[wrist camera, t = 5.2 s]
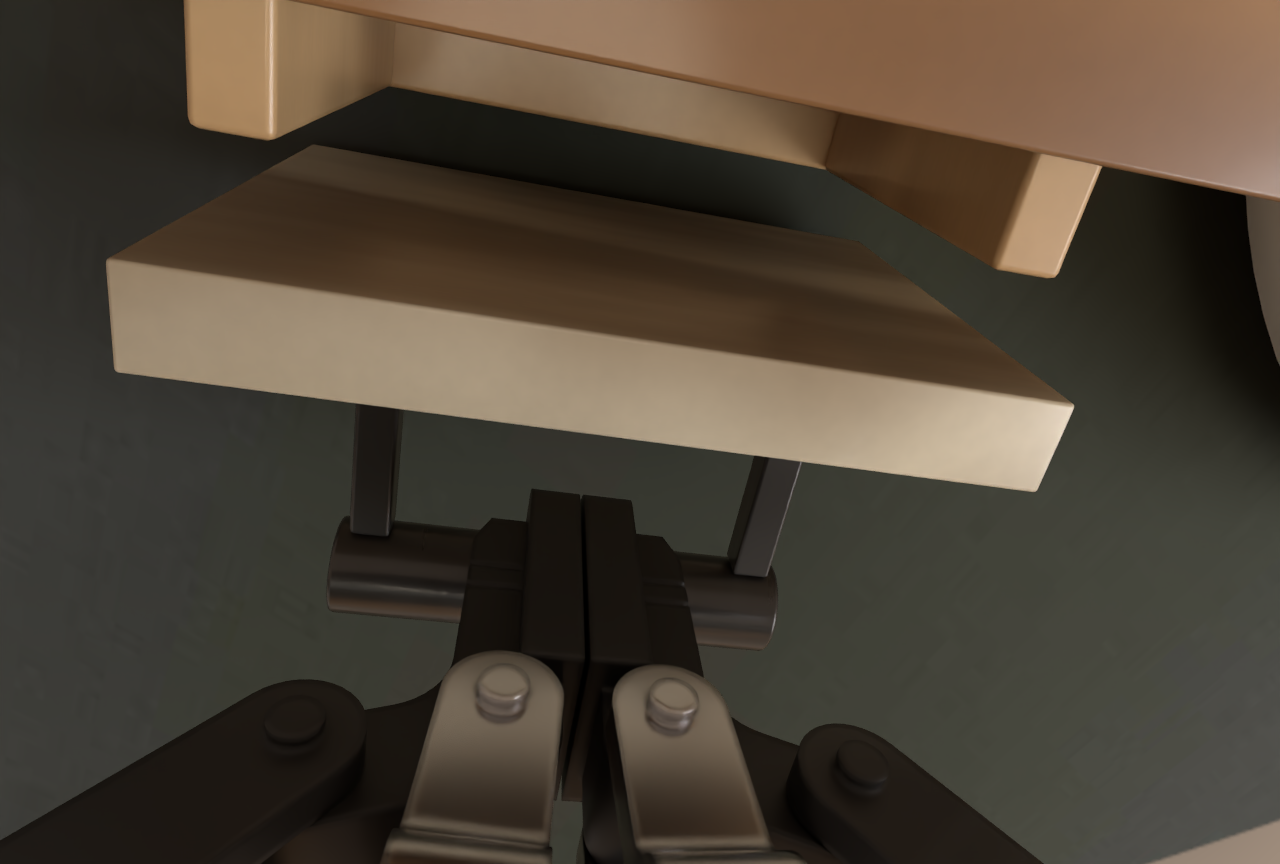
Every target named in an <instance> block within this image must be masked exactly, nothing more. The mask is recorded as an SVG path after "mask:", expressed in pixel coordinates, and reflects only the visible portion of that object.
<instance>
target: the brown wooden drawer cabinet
mask: <svg viewBox="0 0 1280 864" xmlns="http://www.w3.org/2000/svg"><path fill="white" fill-rule="evenodd" d="M289 1H294V2H299V3H304V4H309V5H314V6H318V7H323V8H328V9H333V10H338V11H343V12H348V13H353V14H358V15H363V16H368V17H372V18H377V19H382V20H387V21H392V22H397V23H402V24H407V25H412V26H417V27H422V28H426V29H431V30H436V31H441V32H446V33H451V34H456V35H461V36H466V37H471V38H476V39H480V40H485V41H490V42H495V43H500V44H505V45H510V46H515V47H520V48H525V49H530V50H535V51H539V52H544V53H549V54H554V55H559V56H564V57H569V58H574V59H579V60H584V61H589V62H593V63H598V64H603V65H608V66H613V67H618V68H623V69H628V70H633V71H638V72H643V73H647V74H652V75H657V76H662V77H667V78H672V79H677V80H682V81H687V82H692V83H697V84H701V85H706V86H711V87H716V88H721V89H726V90H731V91H736V92H741V93H746V94H751V95H756V96H760V97H765V98H770V99H775V100H780V101H785V102H790V103H795V104H800V105H805V106H810V107H814V108H819V109H824V110H829V111H834V112H839V113H844V114H849V115H854V116H859V117H864V118H868V119H873V120H878V121H883V122H888V123H893V124H898V125H903V126H908V127H913V128H918V129H922V130H927V131H932V132H937V133H942V134H947V135H952V136H957V137H962V138H967V139H972V140H977V141H981V142H986V143H991V144H996V145H1001V146H1006V147H1011V148H1016V149H1021V150H1026V151H1031V152H1035V153H1040V154H1045V155H1050V156H1055V157H1060V158H1065V159H1070V160H1075V161H1080V162H1085V163H1089V164H1094V165H1099V166H1104V167H1109V168H1114V169H1119V170H1124V171H1129V172H1134V173H1139V174H1143V175H1148V176H1153V177H1158V178H1163V179H1168V180H1173V181H1178V182H1183V183H1188V184H1193V185H1197V186H1202V187H1207V188H1212V189H1217V190H1222V191H1227V192H1232V193H1237V194H1242V195H1247V196H1252V197H1256V198H1261V199H1266V200H1271V201H1276V202H1280V0H289Z"/></svg>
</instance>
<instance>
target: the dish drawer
mask: <svg viewBox="0 0 1280 864" xmlns="http://www.w3.org/2000/svg"><path fill="white" fill-rule="evenodd" d="M184 23H185V52H186V80H187V108H188V118H189V121H190V124H192V125H194V126H196V127H197V128H199V129H205V130H210V131H216V132H222V133H227V134H233V135H239V136H244V137H250V138H256V139H261V140H267V141H268V140H272V139H276V138H278V137H280V136H282V135H284V134H287V133H289V132H291V131H293V130H295V129H297V128H300V127H302V126H304V125H306V124H308V123H310V122H313V121H315V120H317V119H319V118H321V117H323V116H326V115H328V114H330V113H332V112H334V111H337V110H339V109H341V108H343V107H345V106H347V105H350V104H352V103H354V102H356V101H358V100H360V99H363V98H365V97H367V96H369V95H371V94H373V93H376V92H378V91H380V90H382V89H384V88H386V87H389V86H390V87H395V88H400V89H406V90H411V91H416V92H421V93H426V94H432V95H437V96H442V97H447V98H453V99H458V100H463V101H468V102H474V103H479V104H484V105H489V106H494V107H500V108H505V109H510V110H515V111H521V112H526V113H531V114H536V115H542V116H547V117H552V118H557V119H562V120H568V121H573V122H578V123H583V124H589V125H594V126H599V127H604V128H609V129H615V130H620V131H625V132H630V133H636V134H641V135H646V136H651V137H657V138H662V139H667V140H672V141H677V142H683V143H688V144H693V145H698V146H704V147H709V148H714V149H719V150H724V151H730V152H735V153H740V154H745V155H751V156H756V157H761V158H766V159H772V160H777V161H782V162H787V163H792V164H798V165H803V166H808V167H813V168H819V169H824V170H827V171H829V172H830V173H832V174H834V175H836V176H837V177H839V178H841V179H842V180H844V181H846V182H848V183H849V184H851V185H853V186H854V187H856V188H858V189H859V190H861V191H863V192H865V193H866V194H868V195H870V196H871V197H873V198H875V199H877V200H878V201H880V202H882V203H883V204H885V205H887V206H888V207H890V208H892V209H894V210H895V211H897V212H899V213H900V214H902V215H904V216H906V217H907V218H909V219H911V220H912V221H914V222H916V223H918V224H919V225H921V226H923V227H924V228H926V229H928V230H929V231H931V232H933V233H935V234H936V235H938V236H940V237H941V238H943V239H945V240H947V241H948V242H950V243H952V244H953V245H955V246H957V247H958V248H960V249H962V250H964V251H965V252H967V253H969V254H970V255H972V256H974V257H976V258H977V259H979V260H981V261H982V262H984V263H986V264H988V265H989V266H991V267H993V268H994V269H996V270H1001V271H1007V272H1013V273H1018V274H1024V275H1030V276H1035V277H1041V278H1053V277H1055V276H1056V275H1057V274H1058V273H1059V270H1060V268H1061V265H1062V263H1063V260H1064V258H1065V256H1066V253H1067V251H1068V248H1069V246H1070V243H1071V241H1072V239H1073V236H1074V234H1075V231H1076V229H1077V226H1078V224H1079V222H1080V219H1081V217H1082V214H1083V212H1084V209H1085V207H1086V204H1087V202H1088V200H1089V197H1090V195H1091V192H1092V190H1093V187H1094V185H1095V183H1096V180H1097V178H1098V175H1099V173H1100V170H1101V168H1102V166H1099V165H1094V164H1089V163H1085V162H1080V161H1075V160H1070V159H1065V158H1060V157H1055V156H1050V155H1045V154H1040V153H1035V152H1031V151H1026V150H1021V149H1016V148H1011V147H1006V146H1001V145H996V144H991V143H986V142H981V141H977V140H972V139H967V138H962V137H957V136H952V135H947V134H942V133H937V132H932V131H927V130H922V129H918V128H913V127H908V126H903V125H898V124H893V123H888V122H883V121H878V120H873V119H868V118H864V117H859V116H854V115H849V114H844V113H839V112H834V111H829V110H824V109H819V108H814V107H810V106H805V105H800V104H795V103H790V102H785V101H780V100H775V99H770V98H765V97H760V96H756V95H751V94H746V93H741V92H736V91H731V90H726V89H721V88H716V87H711V86H706V85H701V84H697V83H692V82H687V81H682V80H677V79H672V78H667V77H662V76H657V75H652V74H647V73H643V72H638V71H633V70H628V69H623V68H618V67H613V66H608V65H603V64H598V63H593V62H589V61H584V60H579V59H574V58H569V57H564V56H559V55H554V54H549V53H544V52H539V51H535V50H530V49H525V48H520V47H515V46H510V45H505V44H500V43H495V42H490V41H485V40H480V39H476V38H471V37H466V36H461V35H456V34H451V33H446V32H441V31H436V30H431V29H426V28H422V27H417V26H412V25H407V24H402V23H397V22H392V21H387V20H382V19H377V18H372V17H368V16H363V15H358V14H353V13H348V12H343V11H338V10H333V9H328V8H323V7H318V6H314V5H309V4H304V3H299V2H294V1H289V0H184ZM106 271H107V283H108V296H109V308H110V320H111V333H112V345H113V358H114V369H115V371H117V372H120V373H128V374H136V375H143V376H151V377H159V378H166V379H174V380H181V381H189V382H197V383H204V384H212V385H220V386H227V387H235V388H243V389H250V390H258V391H266V392H273V393H281V394H289V395H296V396H304V397H312V398H319V399H327V400H334V401H342V402H350V403H356V412H355V431H354V450H353V470H352V489H351V508H350V516H345V517H344V518H343V519H342V521H341V523H340V525H339V527H338V529H337V532H336V536H335V539H334V543H333V547H332V552H331V557H330V563H329V570H328V578H327V605H328V609H329V610H330V611H332V612H338V613H349V614H360V615H371V616H382V617H393V618H404V619H415V620H426V621H437V622H448V623H460V617H461V611H462V605H463V599H464V593H465V587H466V582H467V575H468V569H469V564H470V557H471V551H472V545H473V539H474V536H475V535H476V534H477V533H478V532H479V531H480V530H476V529H467V528H458V527H449V526H439V525H430V524H421V523H412V522H403V521H394V519H395V515H396V503H397V490H398V477H399V465H400V452H401V439H402V426H403V414H404V410H411V411H419V412H426V413H434V414H442V415H449V416H457V417H464V418H472V419H480V420H487V421H495V422H503V423H510V424H518V425H526V426H533V427H541V428H549V429H556V430H564V431H572V432H579V433H587V434H595V435H602V436H610V437H617V438H625V439H633V440H640V441H648V442H656V443H663V444H671V445H679V446H686V447H694V448H702V449H709V450H717V451H725V452H732V453H740V454H748V455H755V456H754V459H753V463H752V466H751V470H750V473H749V477H748V481H747V484H746V488H745V491H744V495H743V498H742V502H741V506H740V509H739V513H738V516H737V520H736V523H735V527H734V531H733V534H732V538H731V541H730V545H729V548H728V552H727V555H728V557H722V556H713V555H704V554H695V553H686V552H677V551H674V552H675V554H676V555H677V556H678V557H679V559H680V562H681V567H682V572H683V577H684V582H685V583H684V587H686V592H687V597H688V607H690V611H691V616H692V621H693V626H694V631H695V636H696V641H697V645H700V646H711V647H722V648H733V649H744V650H755V651H760V650H763V649H764V648H766V646H767V645H768V644H769V642H770V640H771V637H772V634H773V631H774V628H775V623H776V618H777V609H778V589H777V581H776V576H775V573H774V570H773V568H772V566H771V562H772V559H773V556H774V553H775V549H776V546H777V543H778V540H779V536H780V533H781V530H782V527H783V523H784V520H785V517H786V514H787V510H788V507H789V504H790V501H791V498H792V494H793V491H794V488H795V485H796V481H797V478H798V475H799V472H800V468H801V465H802V462H809V463H816V464H824V465H832V466H839V467H847V468H855V469H862V470H870V471H878V472H885V473H893V474H901V475H908V476H916V477H923V478H931V479H939V480H946V481H954V482H962V483H969V484H977V485H985V486H992V487H1000V488H1008V489H1015V490H1023V491H1031V492H1035V491H1036V490H1037V489H1038V487H1039V485H1040V483H1041V480H1042V478H1043V476H1044V474H1045V471H1046V469H1047V467H1048V465H1049V463H1050V460H1051V458H1052V456H1053V454H1054V451H1055V449H1056V447H1057V445H1058V443H1059V440H1060V438H1061V436H1062V434H1063V431H1064V429H1065V427H1066V425H1067V423H1068V420H1069V418H1070V416H1071V414H1072V411H1073V409H1074V404H1072V403H1071V402H1070V401H1068V400H1067V399H1066V398H1065V397H1063V396H1062V395H1061V394H1059V393H1058V392H1057V391H1055V390H1054V389H1053V388H1051V387H1050V386H1049V385H1047V384H1046V383H1045V382H1043V381H1042V380H1041V379H1039V378H1038V377H1037V376H1035V375H1034V374H1033V373H1032V372H1030V371H1029V370H1028V369H1026V368H1025V367H1024V366H1022V365H1021V364H1020V363H1018V362H1017V361H1016V360H1014V359H1013V358H1012V357H1010V356H1009V355H1008V354H1006V353H1005V352H1004V351H1002V350H1001V349H1000V348H999V347H997V346H996V345H995V344H993V343H992V342H991V341H989V340H988V339H987V338H985V337H984V336H983V335H981V334H980V333H979V332H977V331H976V330H975V329H973V328H972V327H971V326H969V325H968V324H967V323H966V322H964V321H963V320H962V319H960V318H959V317H958V316H956V315H955V314H954V313H952V312H951V311H950V310H948V309H947V308H946V307H944V306H943V305H942V304H940V303H939V302H938V301H937V300H935V299H934V298H933V297H931V296H930V295H929V294H927V293H926V292H925V291H923V290H922V289H921V288H919V287H918V286H917V285H915V284H914V283H913V282H911V281H910V280H909V279H907V278H906V277H905V276H904V275H902V274H901V273H900V272H898V271H897V270H896V269H894V268H893V267H892V266H890V265H889V264H888V263H886V262H885V261H884V260H882V259H881V258H880V257H878V256H877V255H876V254H874V253H873V252H872V251H871V250H869V249H868V248H867V247H865V246H864V245H863V244H861V243H860V242H859V241H854V240H848V239H842V238H837V237H831V236H826V235H820V234H814V233H809V232H803V231H797V230H792V229H786V228H781V227H775V226H769V225H764V224H758V223H752V222H747V221H741V220H736V219H730V218H724V217H719V216H713V215H707V214H702V213H696V212H691V211H685V210H679V209H674V208H668V207H662V206H657V205H651V204H646V203H640V202H634V201H629V200H623V199H617V198H612V197H606V196H601V195H595V194H589V193H584V192H578V191H573V190H567V189H561V188H556V187H550V186H544V185H539V184H533V183H528V182H522V181H516V180H511V179H505V178H499V177H494V176H488V175H483V174H477V173H471V172H466V171H460V170H454V169H449V168H443V167H438V166H432V165H426V164H421V163H415V162H409V161H404V160H398V159H393V158H387V157H381V156H376V155H370V154H364V153H359V152H353V151H348V150H342V149H336V148H331V147H325V146H319V145H311V146H309V147H307V148H305V149H304V150H302V151H300V152H298V153H296V154H295V155H293V156H291V157H289V158H287V159H286V160H284V161H282V162H280V163H278V164H277V165H275V166H273V167H271V168H269V169H268V170H266V171H264V172H262V173H260V174H259V175H257V176H255V177H253V178H251V179H250V180H248V181H246V182H244V183H242V184H241V185H239V186H237V187H235V188H233V189H232V190H230V191H228V192H226V193H224V194H223V195H221V196H219V197H217V198H215V199H214V200H212V201H210V202H208V203H206V204H205V205H203V206H201V207H199V208H197V209H196V210H194V211H192V212H190V213H188V214H187V215H185V216H183V217H181V218H179V219H178V220H176V221H174V222H172V223H170V224H169V225H167V226H165V227H163V228H161V229H160V230H158V231H156V232H154V233H152V234H151V235H149V236H147V237H145V238H143V239H142V240H140V241H138V242H136V243H135V244H133V245H131V246H129V247H127V248H126V249H124V250H122V251H120V252H118V253H117V254H115V255H113V256H111V257H109V258H108V259H107V261H106Z"/></svg>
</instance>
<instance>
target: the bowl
mask: <svg viewBox="0 0 1280 864" xmlns="http://www.w3.org/2000/svg"><path fill="white" fill-rule="evenodd" d="M1246 206H1247V222H1248V234H1249V241H1250V248H1251V255H1252V263H1253V270H1254V275H1255V280H1256V285H1257V289H1258V294H1259V298H1260V303H1261V307H1262V312H1263V316H1264V319H1265V323H1266V326H1267V329H1268V333H1269V336H1270V339H1271V342H1272V346H1273V349H1274V352H1275V355H1276V358H1277V361H1278V363H1279V366H1280V202H1276V201H1271V200H1266V199H1261V198H1256V197H1252V196H1247V195H1246Z"/></svg>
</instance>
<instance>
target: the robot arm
mask: <svg viewBox="0 0 1280 864" xmlns="http://www.w3.org/2000/svg"><path fill="white" fill-rule="evenodd" d="M684 583H685V582H684V577H683V572H682V567H681V562H680V559H679V557H678V556H677V555H676V554H675V552H674V551H673V550H672V549H671V547H670V546H669V545H668V544H667V542H666V541H665V540H664V539H663V537H659V536H650V535H641V534H636V530H635V522H634V515H633V507H632V502H631V500H624V499H615V498H607V497H598V496H590V495H583V496H582V499H581V502H580V495H579V494H572V493H563V492H555V491H546V490H538V489H531V493H530V499H529V506H528V512H527V519H526V522H523V521H514V520H505V519H496V518H491V519H490V521H489V522H488V523H487V524H486V525H485V526H484V527H483V528H482V529H481V530H480V531H479V532H478V533H477V534H476V535H475V536H474V539H473V545H472V551H471V557H470V564H469V569H468V575H467V582H466V587H465V593H464V599H463V605H462V611H461V617H460V623H459V629H458V635H457V641H456V647H455V653H454V659H453V662H452V666H451V667H450V669H449V671H448V672H447V674H446V675H445V676H444V678H443V680H442V681H441V682H440V683H438V684H437V685H436V686H435V687H434V688H432V689H431V690H429V691H428V692H427V693H425V694H423V695H421V696H419V697H417V698H415V699H412V700H409V701H406V702H403V703H399V704H395V705H390V706H384V707H378V708H373V709H367V710H364V708H363V706H362V704H361V703H360V701H359V700H358V699H357V698H356V697H355V696H354V695H353V694H352V693H351V692H349V691H347V690H346V689H344V688H343V687H340V686H338V685H335V684H333V683H329V682H325V681H319V680H291V681H285V682H281V683H277V684H273V685H271V686H268V687H265V688H263V689H261V690H259V691H257V692H255V693H253V694H251V695H249V696H248V697H246V698H244V699H242V700H241V701H239V702H237V703H236V704H234V705H232V706H230V707H229V708H227V709H225V710H223V711H222V712H220V713H218V714H217V715H215V716H213V717H211V718H210V719H208V720H206V721H205V722H203V723H201V724H199V725H198V726H196V727H194V728H193V729H191V730H189V731H187V732H186V733H184V734H182V735H181V736H179V737H177V738H175V739H174V740H172V741H170V742H169V743H167V744H165V745H163V746H162V747H160V748H158V749H157V750H155V751H153V752H151V753H150V754H148V755H146V756H144V757H143V758H141V759H139V760H138V761H136V762H134V763H132V764H131V765H129V766H127V767H126V768H124V769H122V770H120V771H119V772H117V773H115V774H114V775H112V776H110V777H108V778H107V779H105V780H103V781H102V782H100V783H98V784H96V785H95V786H93V787H91V788H90V789H88V790H86V791H84V792H83V793H81V794H79V795H78V796H76V797H74V798H72V799H71V800H69V801H67V802H66V803H64V804H62V805H60V806H59V807H57V808H55V809H53V810H52V811H50V812H48V813H47V814H45V815H43V816H41V817H40V818H38V819H36V820H35V821H33V822H31V823H29V824H28V825H26V826H24V827H23V828H21V829H19V830H17V831H16V832H14V833H12V834H11V835H9V836H7V837H5V838H4V839H2V840H0V864H552V847H549V843H550V831H551V822H552V812H553V802H554V800H555V801H556V800H557V795H558V790H559V785H560V780H561V775H562V801H576V802H582V806H583V828H582V832H581V837H580V841H579V845H578V850H577V855H576V864H1043V863H1042V862H1041V861H1040V860H1038V859H1037V858H1036V857H1034V856H1033V855H1032V854H1031V853H1029V852H1028V851H1027V850H1026V849H1024V848H1023V847H1022V846H1020V845H1019V844H1018V843H1017V842H1015V841H1014V840H1013V839H1012V838H1010V837H1009V836H1008V835H1006V834H1005V833H1004V832H1003V831H1001V830H1000V829H999V828H997V827H996V826H995V825H994V824H992V823H991V822H990V821H989V820H987V819H986V818H985V817H983V816H982V815H981V814H980V813H978V812H977V811H976V810H975V809H973V808H972V807H971V806H969V805H968V804H967V803H966V802H964V801H963V800H962V799H961V798H959V797H958V796H957V795H955V794H954V793H953V792H952V791H950V790H949V789H948V788H946V787H945V786H944V785H943V784H941V783H940V782H939V781H938V780H936V779H935V778H934V777H932V776H931V775H930V774H929V773H927V772H926V771H925V770H924V769H922V768H921V767H920V766H918V765H917V764H916V763H915V762H913V761H912V760H911V759H909V758H908V757H907V756H906V755H904V754H903V753H902V752H901V751H899V750H898V749H897V748H895V747H894V746H893V745H892V744H890V743H889V742H887V741H886V740H884V739H883V738H881V737H880V736H878V735H876V734H874V733H872V732H870V731H867V730H865V729H863V728H859V727H856V726H852V725H846V724H826V725H822V726H819V727H816V728H814V729H813V730H811V731H809V732H808V733H807V734H806V735H805V736H804V738H803V739H802V741H801V743H800V746H798V745H795V744H792V743H789V742H786V741H783V740H781V739H778V738H775V737H772V736H769V735H766V734H763V733H760V732H758V731H755V730H753V729H751V728H749V727H747V726H745V725H743V724H741V723H740V722H738V721H737V720H735V719H734V718H732V717H731V715H730V712H729V709H728V706H727V704H726V702H725V700H724V698H723V697H722V695H721V694H720V692H719V691H718V690H717V689H716V688H715V687H714V686H713V685H712V684H711V683H710V682H708V681H707V680H706V679H704V675H703V670H702V666H701V661H700V656H699V651H698V646H697V641H696V636H695V631H694V626H693V621H692V616H691V611H690V607H688V597H687V592H686V587H684Z"/></svg>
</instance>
